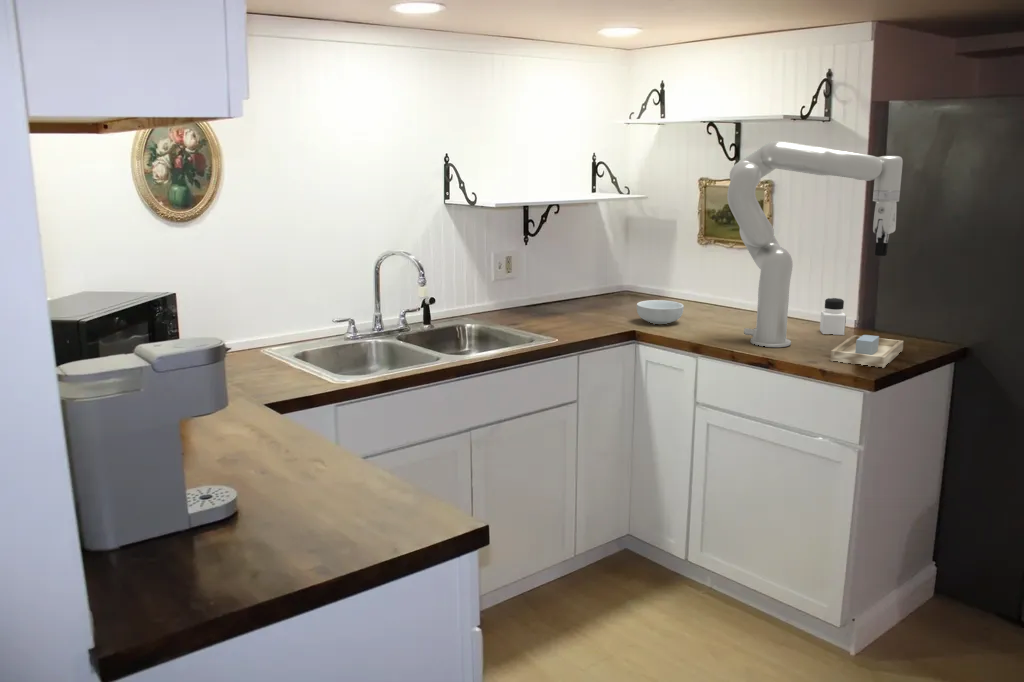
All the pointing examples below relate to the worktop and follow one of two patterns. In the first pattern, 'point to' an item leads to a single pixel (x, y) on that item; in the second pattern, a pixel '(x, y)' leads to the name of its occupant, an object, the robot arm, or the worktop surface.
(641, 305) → the cereal bowl
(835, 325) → the medicine bottle
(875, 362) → the tray
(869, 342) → the block
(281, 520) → the worktop surface
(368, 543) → the worktop surface
